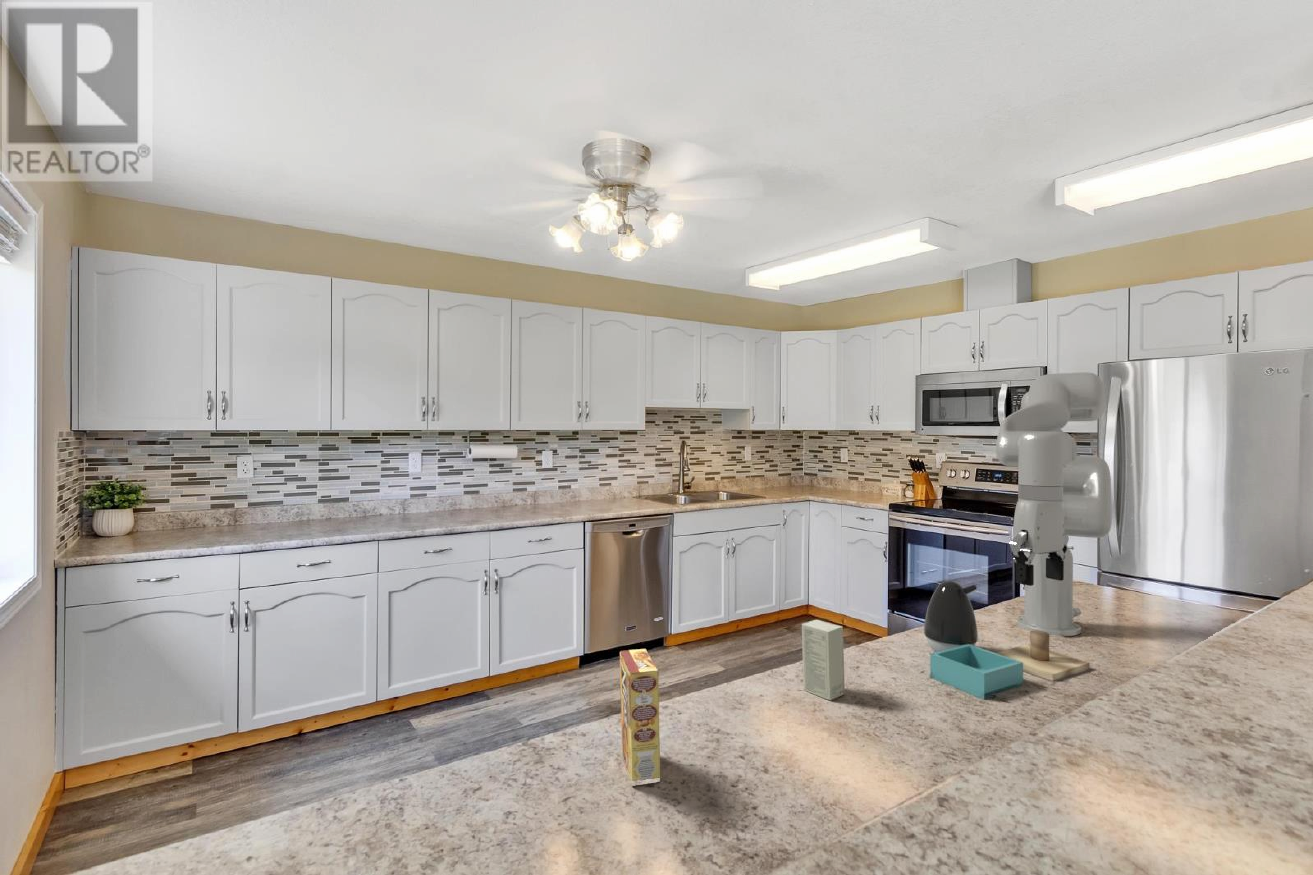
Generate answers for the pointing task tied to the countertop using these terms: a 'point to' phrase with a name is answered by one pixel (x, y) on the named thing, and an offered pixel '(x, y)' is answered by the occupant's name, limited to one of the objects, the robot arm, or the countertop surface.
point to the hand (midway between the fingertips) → (1039, 581)
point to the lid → (1044, 658)
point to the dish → (976, 670)
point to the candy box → (640, 714)
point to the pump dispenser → (950, 617)
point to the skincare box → (823, 659)
